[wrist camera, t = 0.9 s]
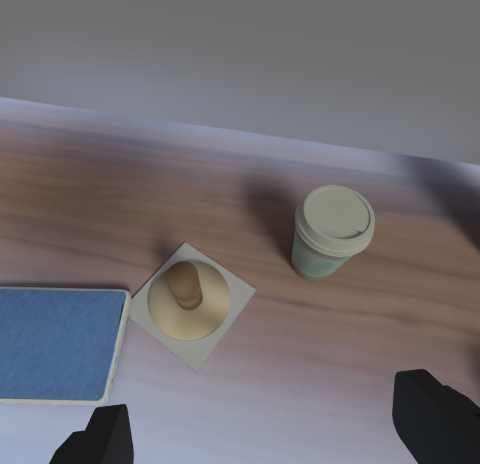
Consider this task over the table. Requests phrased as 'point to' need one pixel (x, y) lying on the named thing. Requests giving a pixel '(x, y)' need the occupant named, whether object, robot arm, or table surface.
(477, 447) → the robot arm
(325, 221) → the coffee cup
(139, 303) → the coaster
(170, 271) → the lid
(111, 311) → the tablet computer
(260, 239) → the table surface
